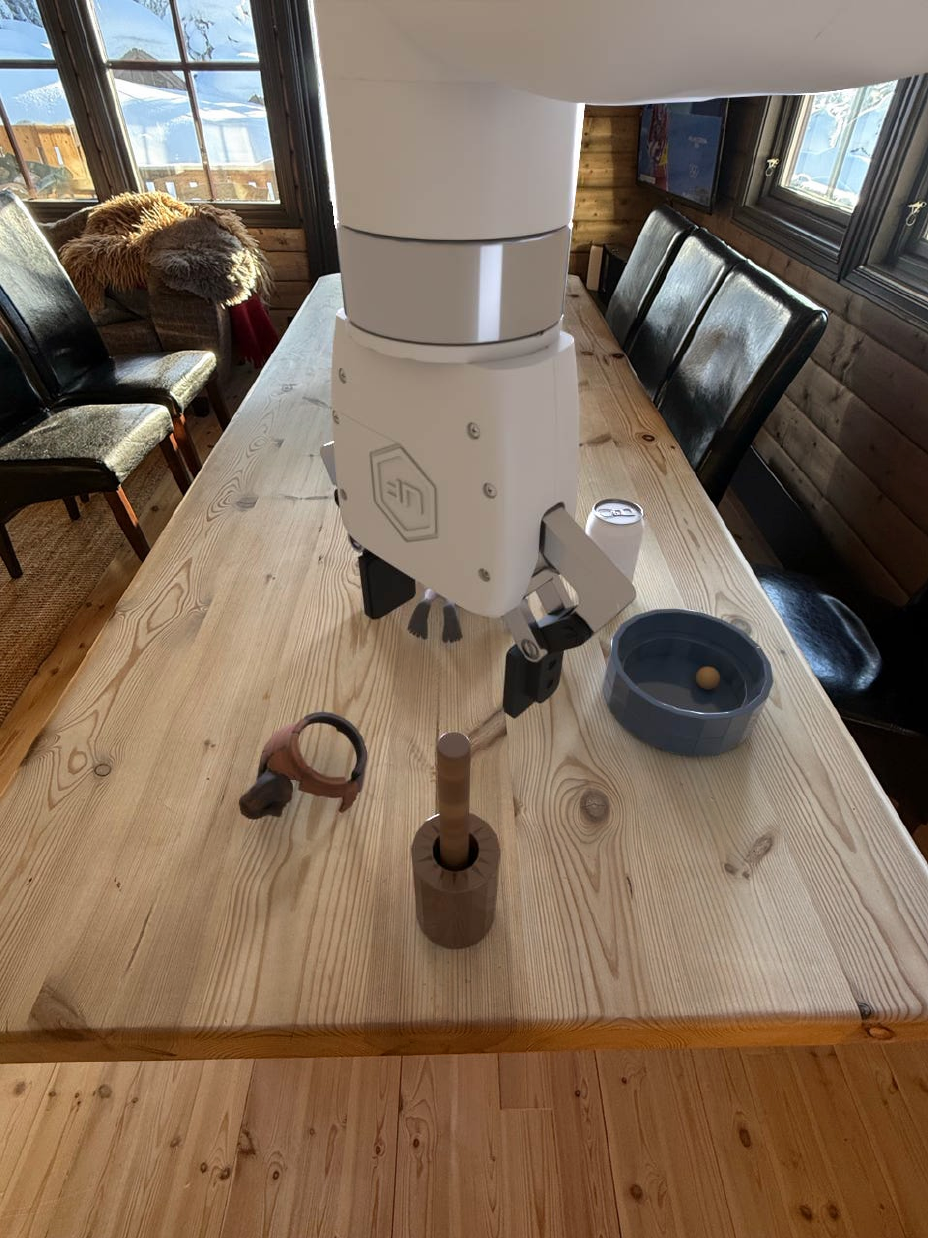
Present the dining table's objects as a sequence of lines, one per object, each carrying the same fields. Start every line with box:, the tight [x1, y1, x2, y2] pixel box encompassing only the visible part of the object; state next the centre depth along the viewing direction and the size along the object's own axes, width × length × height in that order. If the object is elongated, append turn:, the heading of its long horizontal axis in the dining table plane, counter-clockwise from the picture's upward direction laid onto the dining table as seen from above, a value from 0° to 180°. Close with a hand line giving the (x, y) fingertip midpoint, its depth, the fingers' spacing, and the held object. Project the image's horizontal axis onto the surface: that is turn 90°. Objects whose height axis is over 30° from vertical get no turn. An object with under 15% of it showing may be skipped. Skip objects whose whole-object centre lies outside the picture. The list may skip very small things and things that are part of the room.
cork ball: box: [696, 667, 720, 690], centre depth 69 cm, size 2×2×2 cm
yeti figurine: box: [406, 585, 529, 644], centre depth 80 cm, size 20×7×20 cm
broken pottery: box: [238, 711, 368, 821], centre depth 58 cm, size 12×10×8 cm
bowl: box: [602, 607, 774, 757], centre depth 67 cm, size 15×15×6 cm
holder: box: [410, 812, 502, 950], centre depth 49 cm, size 6×6×9 cm
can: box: [584, 497, 645, 584], centre depth 78 cm, size 6×6×12 cm
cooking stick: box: [436, 731, 472, 872], centre depth 45 cm, size 2×2×20 cm
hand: (455, 649), depth 33 cm, fingers open, 9 cm apart
